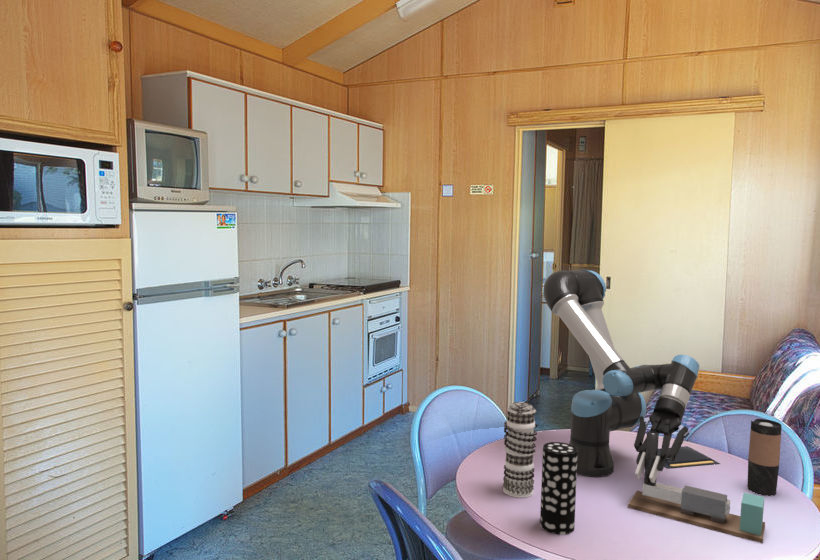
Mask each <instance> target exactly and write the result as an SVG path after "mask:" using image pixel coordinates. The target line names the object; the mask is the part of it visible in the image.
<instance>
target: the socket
mask: <svg viewBox="0 0 820 560" xmlns="http://www.w3.org/2000/svg"><path fill="white" fill-rule="evenodd" d="M764 507H765V496H763V495H758V494H754V493H753V494H752V493H747V492H743V494H742V499H741V504H740V515H739V516H740V531H744V532H748V533H752V534H756V535H760V536H761V531H762V524H763V522H764V520H763V519H764V510H765V509H764Z"/></svg>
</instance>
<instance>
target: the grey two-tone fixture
mask: <svg viewBox="0 0 820 560" xmlns="http://www.w3.org/2000/svg"><path fill="white" fill-rule="evenodd" d="M659 438H660V433H658V432H655V431H650V430H646V436H645V439H646V454H645V468H644V472H643V473H644V474H643V475H644V477H643V483H642V491H641V492H642V495H646V496H650V497H654V498H658V499H662V500H666V501H670V502H674V503H678V504H681V498H682V490H683V488H681V487H676V486H673V485H668V484H665V483H660V482H657V479H656V480H655V483H652V482H651V480H650V478H649V476H650V473H651V470H652V468H653V465H654V462H655V459H656V456H658V449H659ZM730 511H731V499H728V498H727V500H726V504H725V515H726V516H728V515H729V514H730Z"/></svg>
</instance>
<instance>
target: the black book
mask: <svg viewBox="0 0 820 560" xmlns="http://www.w3.org/2000/svg"><path fill="white" fill-rule="evenodd" d="M661 448H662V447H661ZM661 448H660V447H659V448H658V456H660V454H661ZM670 449H671V447H669V451H670ZM668 453H669V452H668ZM714 464H715V465H721V463H720V462H718V461H717V460H715V459H712V458H711V457H710V456H708V455H705V453H701V452H700V451H698V450H695V449H694V448H692V447H690V446H688V445H687V446H686V445H685V446H681V447H680V450H679V452H678V454H677V456H676V458H675V460H674V461H666V463H665V465H664V468H666V469H668V470H669V469H670V470H672V469H681V468H691V467H702V466H713V465H714Z"/></svg>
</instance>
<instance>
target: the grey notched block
mask: <svg viewBox="0 0 820 560" xmlns="http://www.w3.org/2000/svg"><path fill="white" fill-rule="evenodd" d="M682 489H683V490H682V498H681V514H685V515H689V516H694V513H695V512H696V513H700V514H704V515H708V516H711V521H712V522H716V523H720V524H724V522H725V519H726V515H725V504H726V500H727V499H728V494H724V493H719V492H715V491H712V490H707V489H702V488H700V487H699V488H697V487H694V486H689V485H686V484H685V485H684V486H683V488H682Z"/></svg>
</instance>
